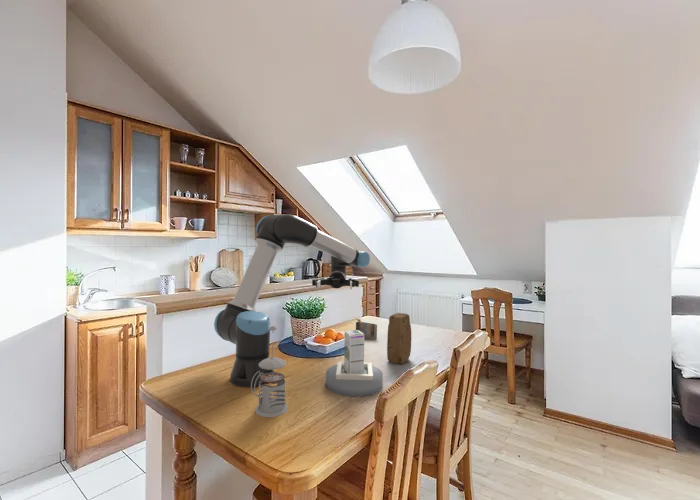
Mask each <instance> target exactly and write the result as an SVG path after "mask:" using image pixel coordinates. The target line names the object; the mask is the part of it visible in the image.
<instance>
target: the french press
mask: <svg viewBox="0 0 700 500" xmlns="http://www.w3.org/2000/svg"><path fill="white" fill-rule="evenodd" d="M276 330H277V327H276V326H275V325H270V332H275V331H276ZM271 344H272V349H271V350H272V351H271V353H272V355H271V357H270V358H267V359H264V360H262V361H261V362H260V363H259V367H260V368H262V369H266V370H272V373H265V374H263V373H261V374H263V375H262V376H261V374H260V371H258V372H259V374H260V375H259V376H261V377H260V381H259V386H258V394H257V392H256V386H255V384H256V381H257V379H258V377H259V376H258V377H257V379H256V381H255V384H254V387H252V382H251V387H250V390H251V391H250V392H251V393H252V395H254V396H256V397H257V398H258V405H257V406H256V407H255V408H254V413H255V414H256V415H257V416H260V417H263V418H275V417H280V416H282V415H284V414H285V413H287V412H288V410H289V406H288V404H287V403H286V379H285V374H283V373H281V372H277V371H274V373H273V369H274V370H279V369H282V368H284V367H285V366H286V365H287V361H286V360H285V359H282V358H280V357H278V356H277V357H275V356H274V343H271ZM258 372H257V373H258ZM257 373H256V374H257ZM256 374H255V375H256ZM255 375H254V377H255ZM254 377H253V379H254ZM253 379H252V381H253ZM262 382H266V384H263V385H260V384H261V383H262ZM270 384H271V385H270ZM272 384H274V385H272ZM276 384H277V385H276Z"/></svg>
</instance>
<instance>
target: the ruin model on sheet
mask: <svg viewBox="0 0 700 500" xmlns="http://www.w3.org/2000/svg"><path fill="white" fill-rule="evenodd" d="M355 320H356V322H355V330H359V331H361V332H362V333H363V334H364V339H365V338H367V339H371V340H376V339H378V324H377V323H370V322H365V321H361V318H355Z"/></svg>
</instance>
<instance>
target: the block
mask: <svg viewBox="0 0 700 500" xmlns="http://www.w3.org/2000/svg"><path fill="white" fill-rule="evenodd" d="M411 352H412V325H411V320H410V314H408V313H405V312H404V313H403V312H402V313H401V312H397V313H394V314H391V315H390V316H389V318H388V327H387V341H386V354H387V355H386V357H387V361H388V362H390V363H392V364H396V365H403V364H406V363H407V362H408V360H409V358H410V356H411Z"/></svg>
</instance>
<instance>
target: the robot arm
mask: <svg viewBox="0 0 700 500" xmlns="http://www.w3.org/2000/svg"><path fill="white" fill-rule="evenodd" d="M255 232H256V238H255V242H256V248H255V250H254V252H253V255H252V257H251V259H250V262H249V264H248V266H247V268H246V270H245V273H244V275H243V278H242V279H241V282H240V285H239V286H238V289H237V292H236V294H235V295H234V298H233V299H232V300H230V301H228V302H227V304H226V306H225V308H224V309H222V310H221V311H219V312H218V313H217V315H216V316H215V318H214V323H213V326H214V331H215V333H216V334H217V335H218V337H220V338H221V339H222V340H224V341H228V342H229V343H231V344H234V345H235V360H234V363H233V365H232V369H231V373H230V377H229V378H230V379H229V380H230V383H231V384H232V385H234V386H237V387H244V388H249V387H250V388H251V382H252V388H254V384H255V381H256V379H257V377H258V376H259V375H260V374H261V373H263V374H265V373H272V370H266V369H262V368H260V367H259V363H260V362H261V361H262V360H264V359H267V358H271V357H270V343H271V342H270V341H271V340H270V339H271V338H270V337H271V335H270V334H271V330H270V327H271V319H270V316H269V315H267V314H266V313H264V312H262V311H257V310H256V305H257V302H258V300H259V298H260V295H261V293H262V290H263V288H264V285H265V283H266V280H267V278H268V275H269V273H270V271H271V268H272V266H273V263H274V261H275V259H276V256H277V254H278V253H279V252H282V251H283V249H284V247H285V244H297V245H300V246H303V247H311V248H314V249H316V250H318V251H320V252H322V253H324V254H327V255H329V256H330V275H329V277H326V278H325V277H319V278H314V279H312V282H311V285H312V287H313V286H315V288H316V289H320V287H321V286H328V287H330V286H331V287H332V288H333V289H341V288H342V287H344V286H346V287H347V286H348V287H349V290H352V289H353V288H354V287H355V288H359V287H360V285H359V284H360V281H359V280H356V279H353V278H347V273H346V272H347V267H354V268H357V267H358V268H366V267H368V265H370V262H371V261H370V260H371V256H370V254H369V252H367V251H363V250H358V249H356V248H354V247H352V246H351V245H350V246H349V245H348V244H346V243H344V242H342V241H340V240H339V239H337V238H334V237H332V236H330V235H328V234H327V233H325V232H323V231H322V230H319V229H318V227H317V226H316V225H315V224H314V223H313V224H312V223H311V222H309V221H307V220H305V219H303V218H301V217H299V216H296V215H295V214H294V215H293V214H289V213H287V214H269V215H265V216H264V217H261V219H259V220H258V221H257V223H256V227H255ZM258 371H260V374H259V372H258ZM257 372H258V373H257ZM274 372H275V369H273V373H274ZM256 373H257V374H256ZM255 374H256V375H255ZM263 374H261V376H262V375H263ZM254 375H255V377H254ZM261 376H259V377H258V379H257V381H256V384H255V387H259V381H260V377H261ZM253 377H254V379H253ZM252 379H253V381H252ZM263 384H266V385H267V383H266V382H262V383H261V384H260V385H263Z"/></svg>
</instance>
